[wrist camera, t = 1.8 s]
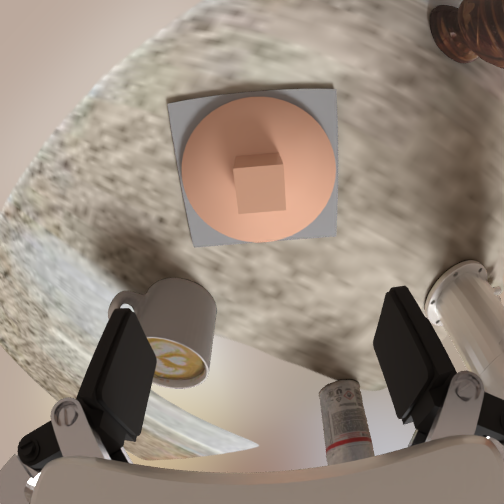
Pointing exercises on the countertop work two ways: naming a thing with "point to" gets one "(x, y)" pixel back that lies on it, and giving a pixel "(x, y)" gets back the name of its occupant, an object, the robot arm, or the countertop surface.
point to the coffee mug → (175, 329)
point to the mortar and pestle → (470, 31)
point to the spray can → (344, 423)
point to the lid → (258, 169)
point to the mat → (310, 100)
